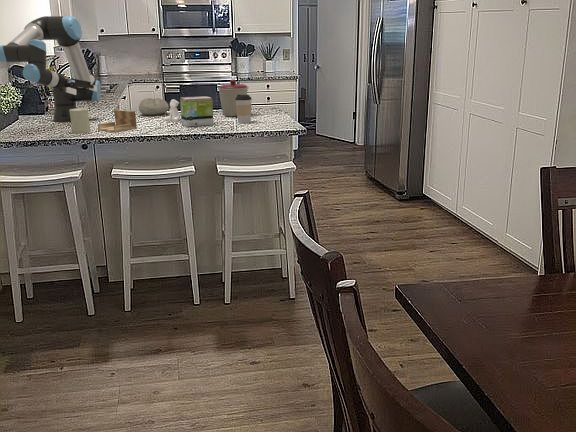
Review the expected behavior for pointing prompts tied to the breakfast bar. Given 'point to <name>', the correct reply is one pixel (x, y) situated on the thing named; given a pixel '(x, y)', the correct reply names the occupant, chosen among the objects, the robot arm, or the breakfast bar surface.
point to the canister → (231, 97)
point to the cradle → (120, 122)
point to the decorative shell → (153, 106)
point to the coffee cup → (243, 108)
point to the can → (80, 120)
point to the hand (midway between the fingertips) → (86, 90)
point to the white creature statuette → (173, 112)
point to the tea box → (196, 111)
